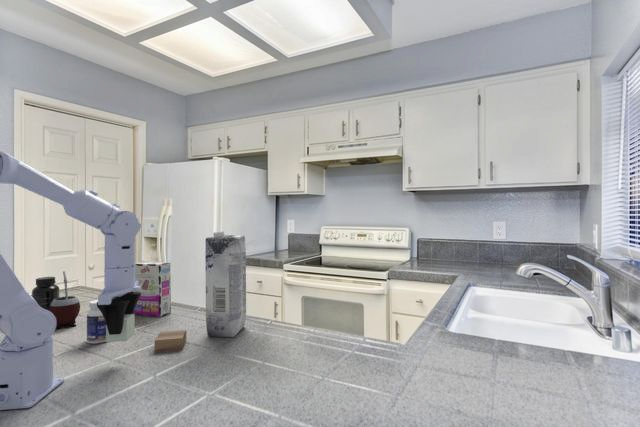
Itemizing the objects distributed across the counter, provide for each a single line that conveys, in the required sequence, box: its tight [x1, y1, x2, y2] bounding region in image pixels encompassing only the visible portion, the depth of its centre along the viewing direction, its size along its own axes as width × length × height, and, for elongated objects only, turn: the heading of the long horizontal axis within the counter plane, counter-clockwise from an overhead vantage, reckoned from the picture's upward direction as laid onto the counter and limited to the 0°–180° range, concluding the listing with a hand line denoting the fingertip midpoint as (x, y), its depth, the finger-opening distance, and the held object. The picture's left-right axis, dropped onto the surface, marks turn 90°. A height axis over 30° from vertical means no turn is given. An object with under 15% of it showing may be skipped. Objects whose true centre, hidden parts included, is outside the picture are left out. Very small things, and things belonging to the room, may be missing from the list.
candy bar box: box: [133, 261, 172, 318], centre depth 109 cm, size 11×5×16 cm, turn 73°
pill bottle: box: [86, 299, 107, 345], centre depth 86 cm, size 6×6×10 cm
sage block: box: [105, 314, 135, 343], centre depth 73 cm, size 4×4×4 cm
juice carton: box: [204, 230, 247, 338], centre depth 92 cm, size 9×10×27 cm
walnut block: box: [154, 329, 187, 353], centre depth 82 cm, size 6×6×3 cm
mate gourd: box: [50, 271, 81, 331], centre depth 98 cm, size 8×8×15 cm
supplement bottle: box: [31, 276, 61, 311], centre depth 108 cm, size 7×7×12 cm
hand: (120, 330), depth 73 cm, fingers closed on sage block, 4 cm apart
